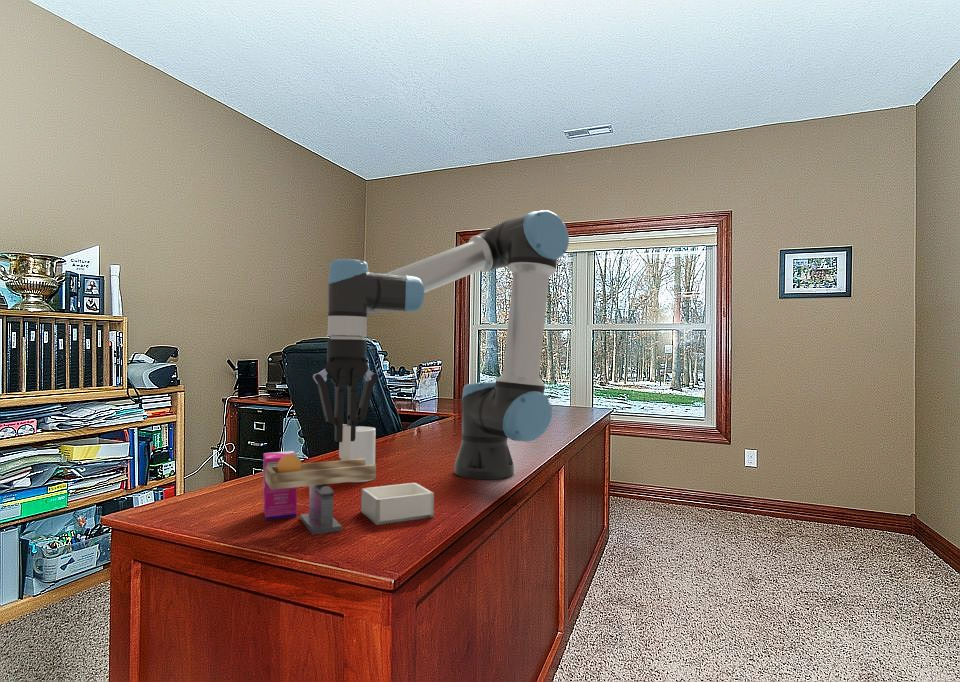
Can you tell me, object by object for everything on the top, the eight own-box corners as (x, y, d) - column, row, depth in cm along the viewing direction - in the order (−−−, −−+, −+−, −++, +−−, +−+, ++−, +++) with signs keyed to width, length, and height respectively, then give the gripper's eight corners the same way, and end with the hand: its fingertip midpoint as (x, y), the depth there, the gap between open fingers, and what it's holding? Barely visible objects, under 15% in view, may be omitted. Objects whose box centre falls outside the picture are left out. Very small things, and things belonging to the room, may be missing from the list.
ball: (298, 473, 103) (299, 451, 103) (303, 478, 100) (304, 455, 100) (275, 476, 101) (275, 453, 101) (279, 480, 98) (279, 457, 98)
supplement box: (262, 512, 110) (263, 452, 110) (294, 509, 112) (295, 450, 113) (263, 520, 105) (264, 457, 105) (297, 517, 107) (298, 455, 107)
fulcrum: (327, 515, 109) (328, 474, 109) (341, 530, 100) (342, 486, 100) (300, 518, 106) (301, 477, 106) (312, 534, 97) (313, 489, 97)
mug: (355, 470, 147) (356, 423, 147) (386, 472, 145) (387, 425, 145) (333, 481, 136) (334, 430, 136) (366, 483, 134) (367, 432, 134)
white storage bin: (414, 504, 117) (415, 482, 117) (433, 516, 109) (433, 493, 109) (361, 511, 111) (361, 488, 111) (376, 525, 103) (376, 499, 103)
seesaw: (354, 465, 116) (354, 452, 116) (375, 479, 104) (376, 465, 104) (259, 473, 107) (260, 460, 107) (271, 489, 96) (271, 474, 96)
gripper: (372, 339, 120) (370, 452, 120) (309, 337, 114) (306, 457, 113) (385, 339, 113) (382, 459, 113) (318, 337, 107) (315, 464, 107)
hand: (344, 458), depth 113 cm, fingers closed
